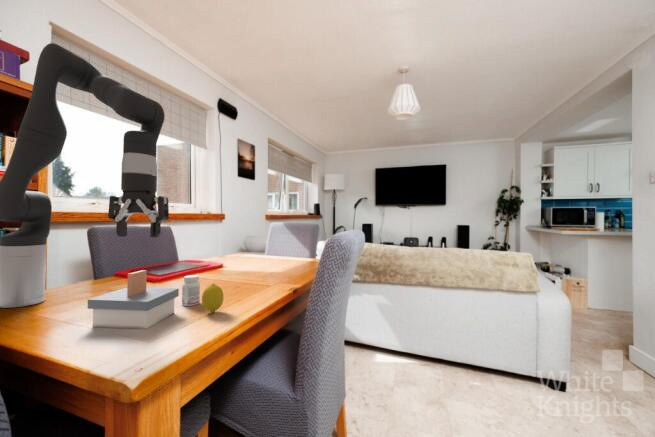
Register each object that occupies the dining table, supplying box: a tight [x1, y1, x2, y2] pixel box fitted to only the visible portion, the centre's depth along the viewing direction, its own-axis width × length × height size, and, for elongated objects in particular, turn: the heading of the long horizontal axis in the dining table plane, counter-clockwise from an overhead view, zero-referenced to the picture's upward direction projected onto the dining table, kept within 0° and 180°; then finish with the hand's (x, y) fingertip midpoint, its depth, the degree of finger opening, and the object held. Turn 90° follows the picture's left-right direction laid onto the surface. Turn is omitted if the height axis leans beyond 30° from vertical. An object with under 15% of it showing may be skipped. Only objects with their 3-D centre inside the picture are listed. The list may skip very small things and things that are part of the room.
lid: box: [87, 269, 180, 311], centre depth 71 cm, size 14×12×8 cm
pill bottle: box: [181, 274, 201, 307], centre depth 84 cm, size 5×5×8 cm
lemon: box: [201, 283, 224, 313], centre depth 77 cm, size 6×6×8 cm
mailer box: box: [92, 298, 175, 330], centre depth 71 cm, size 13×11×6 cm
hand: (138, 236), depth 71 cm, fingers open, 8 cm apart
